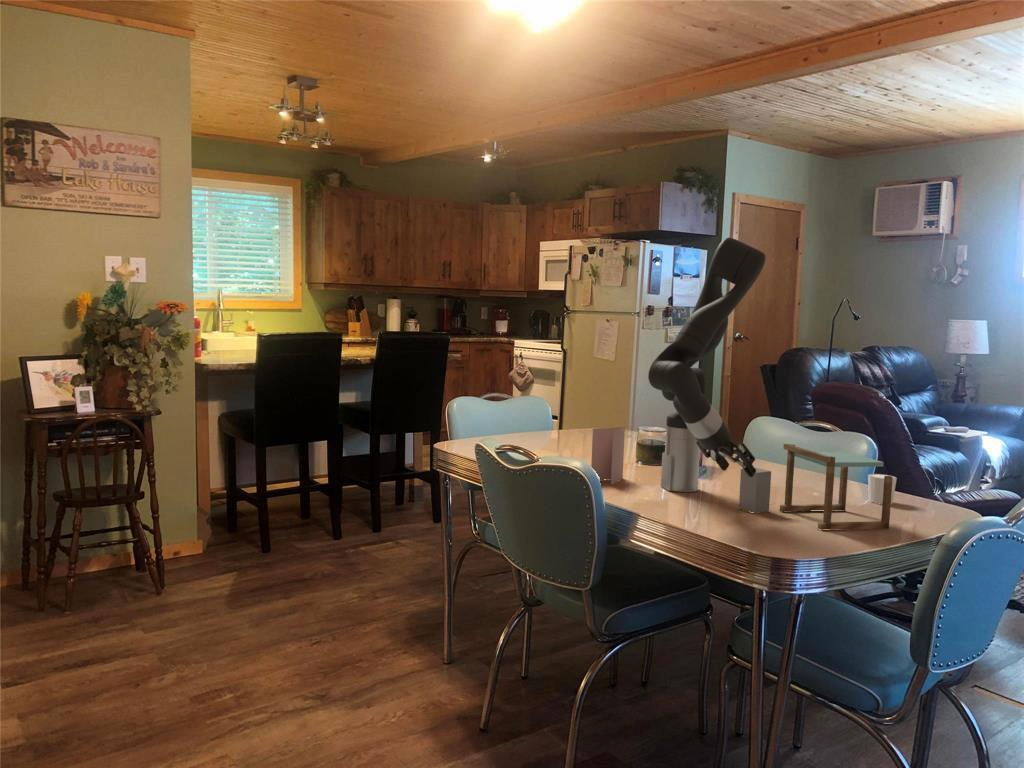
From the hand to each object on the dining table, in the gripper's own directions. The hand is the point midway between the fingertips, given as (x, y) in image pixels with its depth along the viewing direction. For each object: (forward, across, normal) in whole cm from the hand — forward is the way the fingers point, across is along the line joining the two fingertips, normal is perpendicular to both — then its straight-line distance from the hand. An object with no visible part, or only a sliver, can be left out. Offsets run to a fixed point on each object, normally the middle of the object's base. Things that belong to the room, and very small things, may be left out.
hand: (739, 470), depth 186 cm
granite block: (+11, 0, +3) cm, 12 cm away
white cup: (+39, -8, -24) cm, 46 cm away
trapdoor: (+9, -15, -14) cm, 22 cm away
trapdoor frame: (+19, -14, -4) cm, 24 cm away
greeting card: (+3, +40, +12) cm, 42 cm away
